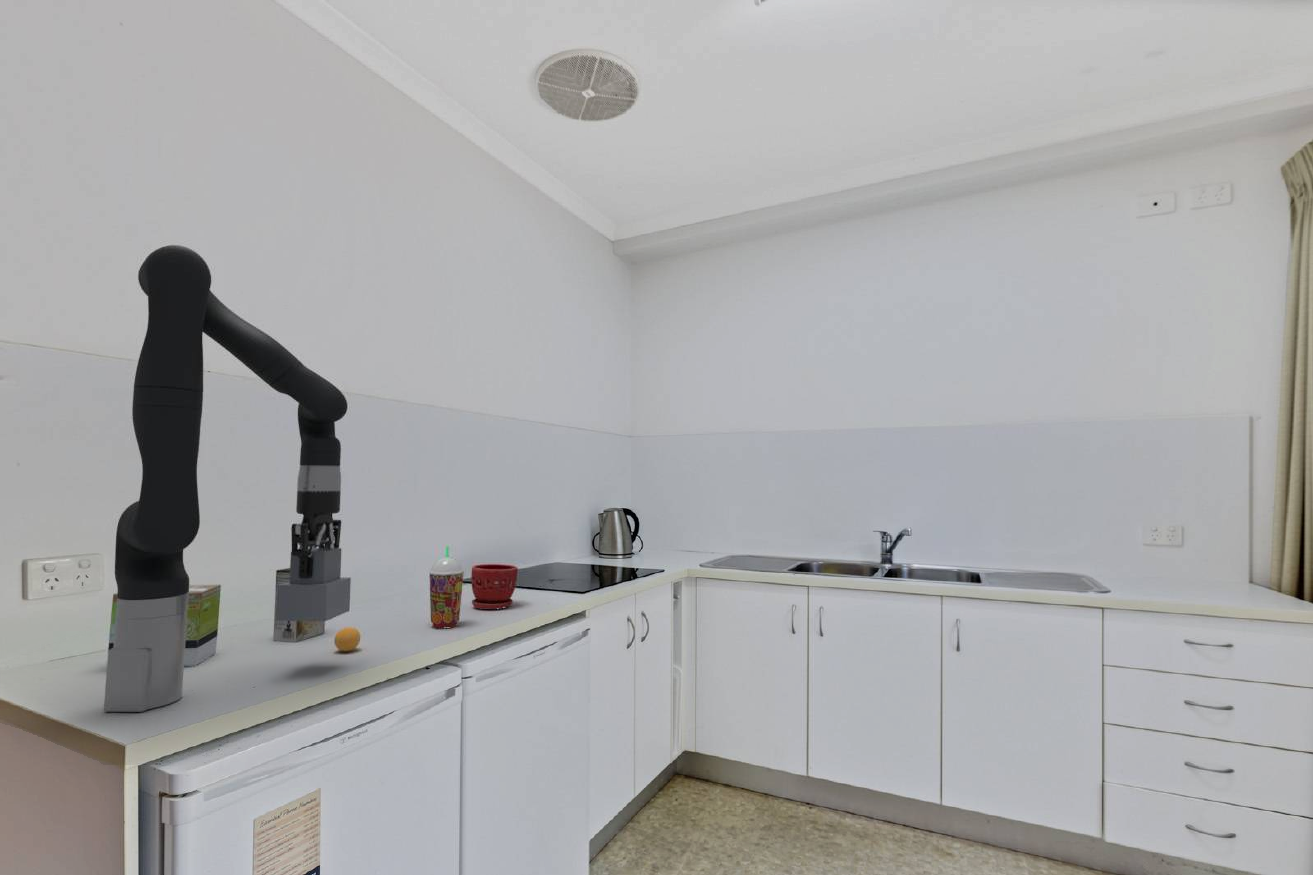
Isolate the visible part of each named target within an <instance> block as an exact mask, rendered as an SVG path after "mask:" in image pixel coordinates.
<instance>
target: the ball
mask: <svg viewBox="0 0 1313 875" xmlns="http://www.w3.org/2000/svg"><path fill="white" fill-rule="evenodd" d="M360 642H361V634H360V632H359V631H358V629H357V628H355V627H352V626H347V627H343V628H342V629H341V628H340V630H339V631H338V632H337V633H336V635H335V636H334V645H335V647H336V648H337V649H338V651H342V652H351V651H353V650H354V649H356V648H357V647H358V645H359V644H360Z"/></svg>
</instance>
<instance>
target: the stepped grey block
mask: <svg viewBox="0 0 1313 875" xmlns="http://www.w3.org/2000/svg"><path fill="white" fill-rule="evenodd" d="M309 548H310V547H308V551H309ZM312 558H313V573H312V577H311V578H299V558H298V557H297V556H293V555H292V551H290V560H289V561H290V563H289V564H290V565H289V568H290V582H287V583H283V584H279V585H278V586H277V607H276V621H325V622H327V621H329V620H332V619H333V618H336V617H338V616H341V615H343V614H345V613H347V612H348V613H349V612H350V608H351V604H350V603H351V583H352V582H351V579H352V577H341V576H342V575H341V570H342V569H341V568H342V548H341V547H339V548H319V547H316V549H315V552H314V555H313V557H312Z"/></svg>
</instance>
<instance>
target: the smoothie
mask: <svg viewBox="0 0 1313 875" xmlns="http://www.w3.org/2000/svg"><path fill="white" fill-rule="evenodd" d="M449 550H450V547H449V546H448V545H447V546H445V556H444V557H441V558H440V559H438V560H437V561H435V562H434V564H433V565H432V567H431V568H430V571H428V572H429V604H430V606H429V608H430V609H429V610H430V622H431V623H432V627H433V628H434V627H436V628H435V629H439V628H444V627H452V628H454V627H453V626H455V625H456V624H457V625H458V622H459V621H460V617H461V616H460V615H461V614H460V612H461V604H462V593H463V584H464V583H463V581H464V572H465V571H464V569H463V567H462V565H461V564H460V562H459V561H458V560H457V559H456V558H453V557H449V553H450V552H449ZM457 625H456V626H457ZM456 626H455V627H456Z"/></svg>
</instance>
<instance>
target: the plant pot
mask: <svg viewBox="0 0 1313 875" xmlns="http://www.w3.org/2000/svg"><path fill="white" fill-rule="evenodd" d="M470 579H471V590H472V593H473V596H474V599H472V600H471V604H472V606H473V607H474V608H476V609H479V608H481V609H480V610H484V609H497V608H503V607H507V606H509V605H510V606H511V605H512V604H513V599H511V598H512V597H513V594H514V592H515V590H516V586H517V581H518V567H517V566H515V565H511V564H502V563H501V564H499V563H488V564H487V563H485V564H476V565H473V566H472V568H471V578H470ZM496 582H498V583H496ZM510 606H509V607H510ZM507 608H508V607H507ZM503 609H504V608H503ZM497 610H498V609H497Z"/></svg>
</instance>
